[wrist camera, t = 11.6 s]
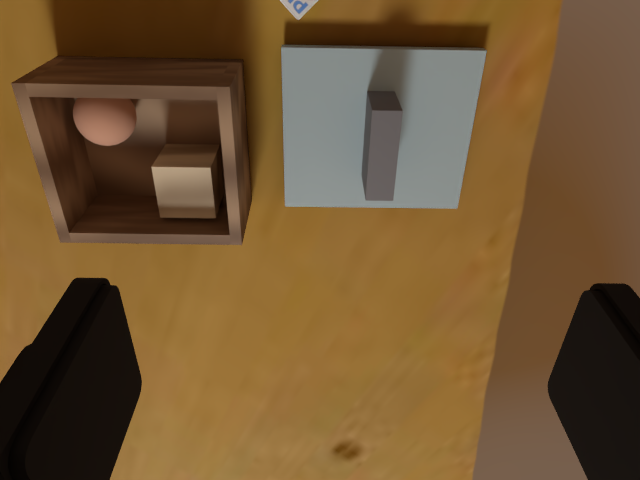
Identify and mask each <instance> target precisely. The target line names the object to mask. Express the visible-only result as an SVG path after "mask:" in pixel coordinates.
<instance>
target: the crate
mask: <svg viewBox="0 0 640 480" xmlns="http://www.w3.org/2000/svg"><path fill="white" fill-rule="evenodd" d="M11 84H12V87H13V91H14V94H15V97H16V100H17V104H18V107H19V110H20V113H21V116H22V120H23V123H24V126H25V129H26V133H27V136H28V139H29V142H30V146H31V149H32V152H33V155H34V159H35V162H36V165H37V168H38V172H39V175H40V178H41V181H42V185H43V188H44V191H45V194H46V197H47V201H48V204H49V207H50V210H51V214H52V217H53V220H54V223H55V227H56V230H57V233H58V236H59V240H60V242H71V243H144V244H217V245H242V242H243V238H244V233H245V229H246V224H247V220H248V215H249V211H250V206H251V202H252V199H251V183H250V167H249V150H248V134H247V118H246V101H245V85H244V69H243V60H236V59H182V58H128V57H75V56H57V57H55V58H53V59H52V60H50V61H48V62H47V63H45V64H43V65H41V66H40V67H38V68H36V69H35V70H33V71H31V72H29V73H28V74H26V75H24V76H23V77H21V78H19V79H17V80H16V81H14V82H12V83H11ZM77 98H123V99H130V100H131V101H132V103H133V105H134V107H135V110H136V116H137V121H136V126H135V129H134V131H133V133H132V134H131V135H130V137H129V138H127V139H126V140H125V141H123V142H121V143H119V144H116V145H111V146H104V145H99V144H95V143H93V142H91V141H89V140H88V139H86V138H85V137H84V136H83V135H82V134H81V133H80V132H79V130H78V129H77V127H76V125H75V122H74V118H73V107H74V104H75V101H76V99H77ZM166 144H207V145H220V152H221V163H222V173H223V184H224V195H223V198H222V201H221V204H220V207H219V210H218V213H217V216H216V218H160V213H159V208H158V202H157V196H156V190H155V185H154V179H153V173H152V168H151V167H152V165H153V163H154V162H155V160H156V159H157V157H158V156H159V154H160V152H161V151H162V149H163V148H164V146H165V145H166Z"/></svg>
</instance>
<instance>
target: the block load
mask: <svg viewBox="0 0 640 480" xmlns="http://www.w3.org/2000/svg"><path fill="white" fill-rule="evenodd" d="M151 168H152V173H153V179H154V185H155V190H156V196H157V202H158V208H159V213H160V218H216V216H217V213H218V210H219V207H220V204H221V201H222V198H223V195H224V184H223V173H222V163H221V152H220V145H207V144H166V145H165V146H164V148H163V149H162V151H161V152H160V154H159V156H158V157H157V159H156V160H155V162H154V163H153V165H152V167H151Z"/></svg>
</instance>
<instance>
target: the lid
mask: <svg viewBox="0 0 640 480" xmlns="http://www.w3.org/2000/svg"><path fill="white" fill-rule="evenodd" d="M486 52H487V50H485V49H484V48H458V47H396V46H334V45H282V47H281V55H282V98H283V140H284V182H285V206H290V207H374V208H458V202H459V197H460V191H461V186H462V181H463V175H464V170H465V165H466V159H467V154H468V149H469V143H470V138H471V133H472V127H473V122H474V116H475V111H476V106H477V100H478V95H479V90H480V84H481V79H482V74H483V68H484V63H485V58H486Z"/></svg>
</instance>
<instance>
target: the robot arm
mask: <svg viewBox="0 0 640 480" xmlns="http://www.w3.org/2000/svg"><path fill="white" fill-rule="evenodd" d="M141 385H142V380H141V374H140V370H139V366H138V362H137V359H136V355H135V351H134V347H133V343H132V339H131V335H130V331H129V327H128V323H127V319H126V315H125V311H124V307H123V304H122V300H121V296H120V292H119V289H118V287H117V286H115V285H110V283H109V281H108V280H107V279H106V278H76V279H74V280H73V281H72V282H71V284H70V285H69V287H68V288H67V290H66V291H65V293H64V295H63V296H62V298H61V299H60V301H59V302H58V304H57V305H56V307H55V308H54V310H53V312H52V313H51V315H50V316H49V318H48V319H47V321H46V322H45V324H44V326H43V327H42V329H41V330H40V332H39V333H38V335H37V336H36V338H35V340H34V341H33V343H32V344H30V345H28V346H26V347H25V348H24V349H23V350H22V351H21V353H20V354H19V355H18V357H17V358H16V360H15V361H14V363H13V364H12V366H11V367H10V369H9V370H8V372H7V373H6V375H5V377H4V378H3V380H2V381H1V383H0V480H110V477H111V474H112V471H113V468H114V466H115V463H116V460H117V457H118V454H119V452H120V449H121V446H122V443H123V440H124V438H125V435H126V432H127V429H128V427H129V424H130V421H131V418H132V415H133V413H134V410H135V407H136V404H137V401H138V399H139V396H140V392H141ZM548 393H549V396H550V399H551V401H552V404H553V406H554V408H555V410H556V412H557V414H558V417H559V419H560V421H561V423H562V425H563V427H564V429H565V431H566V434H567V436H568V438H569V440H570V442H571V444H572V446H573V449H574V451H575V453H576V455H577V457H578V459H579V461H580V463H581V466H582V468H583V470H584V472H585V474H586V476H587V478H588V480H640V298H639V297H638V296H637V294H636V293H635V292H634V291H633V290H632V288H631V287H630V286H628V285H626V284H606V283H605V284H604V283H603V284H602V283H598V284H594V285H593V286H592V287H591V288H590V290H588V291H584V292H583V293H582V295H581V297H580V300H579V303H578V305H577V308H576V310H575V313H574V315H573V318H572V321H571V323H570V326H569V328H568V331H567V334H566V336H565V339H564V342H563V344H562V347H561V349H560V352H559V355H558V357H557V360H556V362H555V365H554V367H553V370H552V373H551V375H550V378H549V381H548Z"/></svg>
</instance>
